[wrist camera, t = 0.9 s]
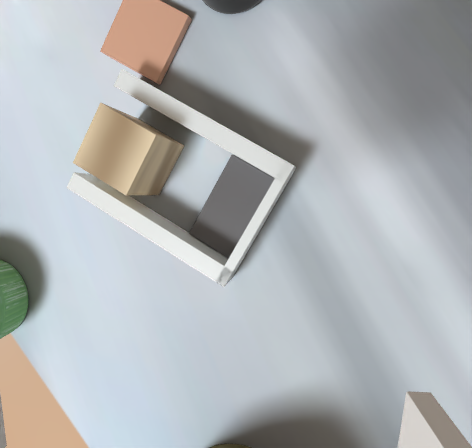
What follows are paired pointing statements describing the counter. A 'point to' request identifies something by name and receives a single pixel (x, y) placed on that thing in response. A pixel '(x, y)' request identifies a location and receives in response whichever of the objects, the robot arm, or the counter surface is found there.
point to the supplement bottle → (231, 5)
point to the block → (127, 153)
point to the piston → (230, 446)
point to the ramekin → (11, 299)
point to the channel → (217, 205)
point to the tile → (146, 36)
